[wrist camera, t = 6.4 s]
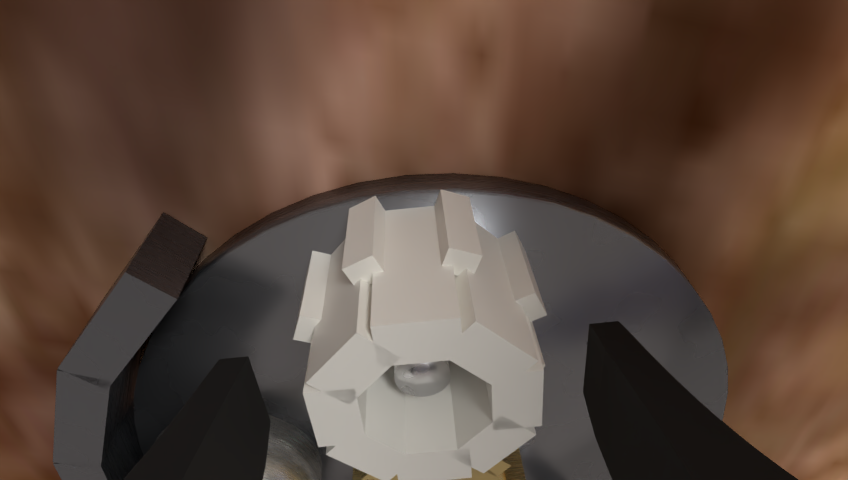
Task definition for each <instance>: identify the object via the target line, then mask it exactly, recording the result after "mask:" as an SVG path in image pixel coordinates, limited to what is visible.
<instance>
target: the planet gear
mask: <svg viewBox="0 0 848 480" xmlns="http://www.w3.org/2000/svg"><path fill="white" fill-rule="evenodd" d="M546 315H547V313H546V310H545V307H544V304H543V301H542V298H541V295H540V292H539V289H538V286H537V283H536V280H535V277H534V274H533V271H532V269H531V266H530V263H529V260H528V257H527V254H526V251H525V249H524V247H523V245H522V243H521V241H520V240H519V238H518V236H517V234H516V232H515V231H513V232H511V233H508V234H506V235H504V236H502V237H500V238H496V237H495V236H494V235H492V234H491V233H490V232H488V231H487V230H485V229H484V228H483V227H481V226H480V225H478V224H477V223H476V222H475V220H474V216H473V211H472V207H471V203H470V198H469V196H465V195H461V194H457V193H453V192H449V191H446V190H442V189H440V192H439V194H438V197H437V200H436V203H435V205H434V206H427V207H417V208H407V209H397V210H387V211H385V209H384V208H383V206H382V205H381V203H380V202H379V200H378V199H377V197H376V196H374V197H372V198H370V199H367V200H365V201H363V202H361V203H359V204H357V205H355V206H353V207H351V208H349V214H348V222H347V230H346V239H345V240H344V241H343V242H342V243H341V244H340V245H339V246H338V248H337V249H336V250H335V251H334V252H333V253H332V254H331V255H330V254H326V253H321V252H317V251H312V255H311V258H310V262H309V266H308V270H307V274H306V279H305V284H304V289H303V294H302V299H301V304H300V308H299V313H298V318H297V323H296V328H295V333H294V338H293V340H297V341H302V342H308V343H311V346H310V352H309V358H308V364H307V370H306V376H305V382H304V388H303V396H304V400H305V403H306V407H307V410H308V414H309V417H310V421H311V424H312V427H313V431H314V434H315V438H316V441H317V445H318V447H325V446H327V448H326V455H328V456H330V457H332V458H334V459H336V460H338V461H341V462H343V463H345V464H347V465H349V466H352V467H354V468H356V469H358V470H360V471H362V472H365V473H367V474H369V475H371V476H373V477H376V478H378V479H380V480H390V479H392V478H393V477H394V476H395V475H397V476H398V480H452V479H462V478H472V472H471V467H472V468H474V469H476V470H478V471H480V472H482V473H485V472H486V471H488V470H489V469H490V468H492V467H493V466H494V465H496V464H497V463H499V462H500V461H501V460H503V459H504V458H505V457H507V456H508V455H509V454H511V453H512V452H514V451H515V450H516V449H518V448H519V447H520V446H522V445H523V444H524V443H526V442H527V441H529V440H530V439H531V438H533V437H534V436H535V435H536V431H535V427H536V426H542V409H543V381H544V367H545V362H544V359H543V356H542V352H541V349H540V346H539V342H538V339H537V336H536V333H535V329H534V326H533V323H532V321H534V320H536V319H539V318H541V317H544V316H546ZM447 360H449V363H450V372H451V378H450V382H449V384H448V385H447V386H446V388H445V389H443V390H442V391H441V392H439V393H437V394H434V395H431V396H425V397H417V396H412V395H409V394H406V393H404V392H403V391H401V390H400V389H399V388H398V387H397V385H396V383H395V378H394V366H395V365H405V364H416V363H426V362H437V361H447Z"/></svg>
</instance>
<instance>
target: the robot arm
mask: <svg viewBox="0 0 848 480" xmlns="http://www.w3.org/2000/svg"><path fill="white" fill-rule="evenodd" d="M583 394H584V397H585V401H586V405H587V409H588V413H589V417H590V420H591V424H592V427H593V431H594V435H595V438H596V440H597V443H598V446H599V448H600V451H601V453H602V456H603V458H604V461H605V463H606V466H607V468H608V471H609V473H610V476H611V478H612V480H798V479H797V478H795V477H794V476H792V475H791V474H789V473H788V472H787V471H785V470H784V469H782V468H781V467H780V466H778V465H777V464H776V463H774V462H773V461H772V460H770V459H769V458H768V457H766V456H765V455H764V454H762V453H761V452H760V451H758V450H757V449H756V448H754V447H753V446H752V445H751V444H749V443H748V442H747V441H746V440H744V439H743V438H742V437H741V436H739V435H738V434H737V433H736V432H735V431H733V430H732V429H731V428H730V427H729V426H727V425H726V424H725V423H724V422H723V421H722V420H720V419H719V418H718V417H717V416H716V415H715V414H713V413H712V412H711V411H710V410H709V409H708V408H707V407H706V406H704V405H703V404H702V403H701V402H700V401H699V400H698V399H697V398H696V397H695V396H693V395H692V394H691V393H690V392H689V391H688V390H687V389H686V388H685V387H684V386H683V385H682V384H681V383H680V382H679V381H677V380H676V379H675V378H674V377H673V376H672V375H671V374H670V373H669V372H668V371H667V370H666V369H665V368H664V367H663V366H662V365H661V364H660V363H659V362H658V361H657V360H656V359H655V358H654V357H653V356H652V355H651V354H650V353H649V352H648V351H647V350H646V349H645V348H644V347H643V346H642V344H641V343H640V342H639V341H638V340H637V339H636V338H635V337H634V336H633V335H632V334H631V333H630V332H629V331H628V330H627V329H626V328H625V327H624V326H623V325H622V324H621V323H620V322H619V321H614V322H603V323H593V324H589V331H588V342H587V353H586V364H585V375H584V386H583ZM270 422H271V421H270V418H269V415H268V412H267V409H266V406H265V403H264V400H263V398H262V395H261V392H260V389H259V386H258V383H257V380H256V377H255V374H254V371H253V369H252V366H251V363H250V360H249V357H248V356H246V357H236V358H225V359H219V360H218V362H217V363H216V364H215V365H214V367H213V368H212V369H211V370H210V372H209V373H208V374H207V376H206V377H205V378H204V380H203V381H202V382H201V384H200V385H199V386H198V388H197V389H196V390H195V392H194V393H193V394H192V396H191V397H190V398H189V400H188V401H187V402H186V403H185V405H184V406H183V407H182V409H181V410H180V411H179V413H178V414H177V415H176V416H175V418H174V419H173V420H172V421H171V423H170V424H169V425H168V427H167V428H166V429H165V430H164V432H163V433H162V434H161V435H160V437H159V438H158V439H157V440H156V442H155V443H154V444H153V445H152V446H151V448H150V449H149V450H148V451H147V452H146V454H145V455H144V456H143V457H142V458H141V459H140V461H139V462H138V463H137V464H136V465H135V466H134V467H133V469H132V470H131V471H130V472H129V473H128V474H127V476H126V477H125V478H124V479H123V480H263V476H264V471H265V466H266V458H267V450H268V441H269V432H270Z"/></svg>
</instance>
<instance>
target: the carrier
mask: <svg viewBox="0 0 848 480" xmlns="http://www.w3.org/2000/svg"><path fill="white" fill-rule="evenodd" d="M440 189H442V190H446V191H449V192H453V193H457V194H461V195H465V196H469V198H470V203H471V207H472V211H473V216H474V220H475V222H476V223H477V224H478V225H480V226H481V227H483V228H484V229H485V230H487V231H488V232H490V233H491V234H492V235H494V236H495V237H496V238H500V237H502V236H504V235H506V234H508V233H511V232H513V231H515V232H516V234H517V236H518V238H519V240H520V241H521V243H522V245H523V247H524V249H525V251H526V254H527V257H528V260H529V263H530V266H531V269H532V271H533V274H534V277H535V280H536V283H537V286H538V289H539V292H540V295H541V298H542V301H543V304H544V307H545V310H546V313H547V315H546V316H544V317H541V318H539V319H536V320H534V321H532V323H533V326H534V329H535V333H536V336H537V339H538V342H539V346H540V349H541V352H542V356H543V359H544V362H545V367H544V381H543V409H542V426H536V427H535V431H536V435H535V436H534V437H533V438H531V439H530V440H529V441H527V442H526V443H524V444H523V445H522V446H520V447H519V448H518V449H516V450H515V451H514V452H512V453H511V454H509V455H508V456H507V457H505V458H504V459H503V460H501V461H500V462H499V463H497V464H496V465H494V466H493V467H492V468H490V469H489V470H488V471H486V472H485V473H482V472H480V471H478V470H476V469H474V468H472V467H471V472H472V478H462V479H452V480H612V478H611V476H610V473H609V471H608V468H607V466H606V463H605V461H604V458H603V456H602V453H601V451H600V448H599V446H598V443H597V440H596V438H595V435H594V431H593V427H592V424H591V420H590V417H589V413H588V409H587V405H586V401H585V397H584V394H583V386H584V375H585V364H586V353H587V342H588V331H589V324H593V323H603V322H614V321H619V322H620V323H621V324H622V325H623V326H624V327H625V328H626V329H627V330H628V331H629V332H630V333H631V334H632V335H633V336H634V337H635V338H636V339H637V340H638V341H639V342H640V343H641V344H642V346H643V347H644V348H645V349H646V350H647V351H648V352H649V353H650V354H651V355H652V356H653V357H654V358H655V359H656V360H657V361H658V362H659V363H660V364H661V365H662V366H663V367H664V368H665V369H666V370H667V371H668V372H669V373H670V374H671V375H672V376H673V377H674V378H675V379H676V380H677V381H679V382H680V383H681V384H682V385H683V386H684V387H685V388H686V389H687V390H688V391H689V392H690V393H691V394H692V395H693V396H695V397H696V398H697V399H698V400H699V401H700V402H701V403H702V404H703V405H704V406H706V407H707V408H708V409H709V410H710V411H711V412H712V413H713V414H715V415H716V416H717V417H718V418H719V419H720V420H722V419H723V415H724V409H725V404H726V399H727V394H728V366H727V361H726V357H725V352H724V347H723V342H722V338H721V336H720V334H719V332H718V329H717V327H716V325H715V322H714V320H713V318H712V315H711V313H710V311H709V310H708V309H707V307H706V306H705V304H704V303H703V301H702V300H701V298H700V297H699V296H698V294H697V293H696V291H695V290H694V288H693V287H692V285H691V284H690V283H689V281H688V280H687V278H686V277H685V275H684V274H683V273H682V271H681V270H680V268H679V267H678V265H677V264H676V263H675V262H674V261H673V260H672V259H671V258H670V257H669V256H668V255H667V254H666V253H665V252H664V251H663V250H662V249H661V248H660V247H659V246H658V245H657V244H656V243H655V242H654V241H653V240H652V239H650V238H649V237H648V236H646V235H645V234H643V233H642V232H641V231H639V230H638V229H636V228H635V227H634V226H632V225H631V224H629V223H628V222H627V221H625V220H624V219H622V218H620V217H618V216H616V215H614V214H612V213H611V212H609V211H607V210H605V209H603V208H601V207H599V206H597V205H595V204H593V203H591V202H589V201H587V200H584V199H581V198H578V197H575V196H572V195H570V194H567V193H564V192H561V191H558V190H555V189H552V188H549V187H546V186H542V185H537V184H532V183H527V182H522V181H517V180H512V179H508V178H503V177H493V176H480V175H468V174H455V173H451V174H425V175H404V176H398V177H391V178H385V179H379V180H372V181H366V182H360V183H355V184H352V185H348V186H345V187H341V188H338V189H334V190H331V191H327V192H324V193H320V194H317V195H313V196H311V197H308V198H306V199H304V200H301V201H299V202H297V203H294V204H292V205H289V206H287V207H285V208H282V209H280V210H278V211H275V212H273V213H271V214H269V215H268V216H266V217H264V218H262V219H261V220H259V221H257V222H256V223H254V224H252V225H251V226H249V227H247V228H245V229H244V230H242V231H240V232H239V233H237V234H235V235H234V236H233V237H232V238H230V239H229V240H228V241H227V242H225V243H224V244H223V245H222V246H220V247H219V248H218V249H217V250H215V251H214V252H213V253H212V254H210V255H209V256H208V257H207V258H205V259H204V260H203V262H202V263H201V264H200V265H199V266H198V267H197V268H196V269H195V270H194V271H193V273H192V274H191V275H190V276H189V274H190V272H191V270H192V268H193V266H194V264H195V262H196V260H197V258H198V256H199V253H200V251H201V249H202V247H203V245H204V243H205V241H206V239H207V237H205V236H203V235H202V234H200V233H198V232H196V231H195V230H193V229H191V228H189V227H188V226H186V225H184V224H182V223H181V222H179V221H177V220H175V219H174V218H172V217H170V216H169V215H167V214H165V213H163V214H162V215H161V217H160V218H159V220H158V221H157V222H156V224H155V225H154V227H153V228H152V230H151V231H150V232H149V234H148V235H147V237H146V238H145V240H144V241H143V243H142V244H141V245H140V247H139V248H138V250H137V251H136V253H135V254H134V256H133V257H132V258H131V260H130V261H129V263H128V264H127V266H126V267H125V269H124V270H123V271H122V273H121V274H120V276H119V277H118V279H117V280H116V281H115V283H114V284H113V286H112V287H111V289H110V290H109V292H108V293H107V294H106V296H105V297H104V299H103V300H102V302H101V303H100V305H99V306H98V308H97V309H96V311H95V312H94V314H93V315H92V317H91V318H90V320H89V322H88V323H87V325H86V326H85V328H84V329H83V331H82V332H81V334H80V335H79V337H78V338H77V340H76V341H75V343H74V344H73V346H72V348H71V349H70V351H69V352H68V354H67V355H66V357H65V358H64V360H63V361H62V363H61V364H60V366H59V367H58V370H57V383H56V405H55V428H54V451H53V462H54V466H55V468H56V470H57V472H58V473H59V475H60V477H61V479H62V480H123V479H124V478H125V477H126V476H127V474H128V473H129V472H130V471H131V470H132V469H133V467H134V466H135V465H136V464H137V463H138V462H139V461H140V459H141V458H142V457H143V456H144V455H145V454H146V452H147V451H148V450H149V449H150V448H151V446H152V445H153V444H154V443H155V442H156V440H157V439H158V438H159V437H160V435H161V434H162V433H163V432H164V430H165V429H166V428H167V427H168V425H169V424H170V423H171V421H172V420H173V419H174V418H175V416H176V415H177V414H178V413H179V411H180V410H181V409H182V407H183V406H184V405H185V403H186V402H187V401H188V400H189V398H190V397H191V396H192V394H193V393H194V392H195V390H196V389H197V388H198V386H199V385H200V384H201V382H202V381H203V380H204V378H205V377H206V376H207V374H208V373H209V372H210V370H211V369H212V368H213V367H214V365H215V364H216V363H217V362H218V360H219V359H225V358H236V357H246V356H248V357H249V360H250V363H251V366H252V369H253V371H254V374H255V377H256V380H257V383H258V386H259V389H260V392H261V395H262V398H263V400H264V403H265V406H266V409H267V412H268V415H269V418H270V421H271V422H270V432H269V441H268V450H267V458H266V466H265V471H264V476H263V480H380V479H378V478H376V477H373V476H371V475H369V474H367V473H365V472H362V471H360V470H358V469H356V468H354V467H352V466H349V465H347V464H345V463H343V462H341V461H338V460H336V459H334V458H332V457H330V456H328V455H326V448H327V446H325V447H318V445H317V441H316V438H315V434H314V431H313V427H312V424H311V421H310V417H309V414H308V410H307V407H306V403H305V400H304V396H303V388H304V382H305V376H306V370H307V364H308V358H309V352H310V346H311V343H308V342H302V341H297V340H293V338H294V333H295V328H296V323H297V318H298V313H299V308H300V304H301V299H302V294H303V289H304V284H305V279H306V274H307V270H308V266H309V262H310V258H311V255H312V251H317V252H321V253H326V254H330V255H331V254H332V253H333V252H334V251H335V250H336V249H337V248H338V246H339V245H340V244H341V243H342V242H343V241H344V240H345V239H346V230H347V222H348V214H349V208H351V207H353V206H355V205H357V204H359V203H361V202H363V201H365V200H367V199H370V198H372V197H374V196H376V197H377V199H378V200H379V202H380V203H381V205H382V206H383V208H384V209H385V211H387V210H397V209H407V208H417V207H427V206H434V205H435V203H436V200H437V197H438V194H439V192H440ZM188 276H189V277H188ZM155 327H156V328H155ZM154 329H155V330H154ZM153 330H154V332H153V334H152V336H151V338H150V340H149V343H148V345H147V348H146V350H145V353H144V355H143V358H142V360H141V363H140V357H141V350H142V344H143V343H144V342H145V340H146V339H147V338H148V336H149V335H150V334H151V333H152V331H153ZM139 363H140V365H139ZM394 378H395V383H396V385H397V387H398V388H399V389H400V390H401V391H403V392H404V393H406V394H409V395H412V396H417V397H425V396H431V395H434V394H437V393H439V392H441V391H442V390H443V389H445V388H446V386H447V385H448V384H449V382H450V378H451V372H450V363H449V360H447V361H437V362H426V363H416V364H405V365H395V366H394ZM390 480H398V476H397V475H395V476H394V477H393V478H392V479H390Z"/></svg>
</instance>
